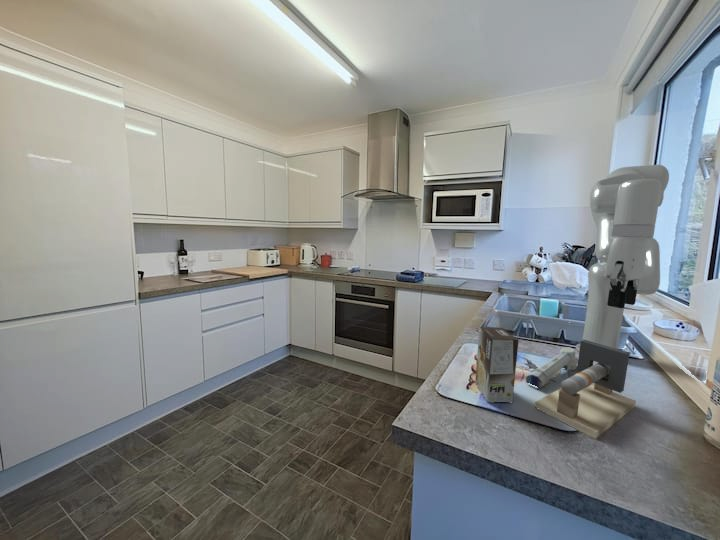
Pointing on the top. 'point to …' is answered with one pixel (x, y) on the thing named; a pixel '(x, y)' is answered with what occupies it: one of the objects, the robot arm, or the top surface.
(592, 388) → the pipe rig
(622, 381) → the collar
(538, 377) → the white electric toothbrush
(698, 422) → the top surface
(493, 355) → the coffee box
